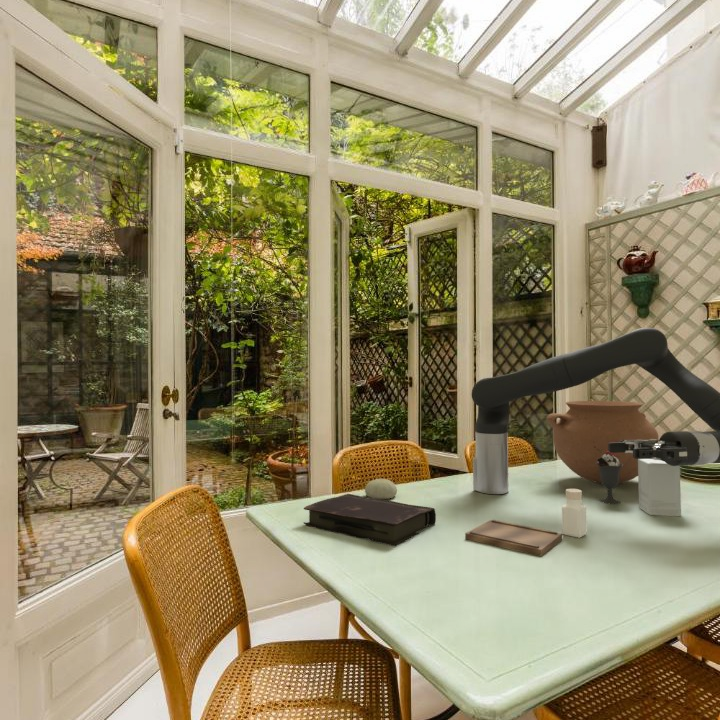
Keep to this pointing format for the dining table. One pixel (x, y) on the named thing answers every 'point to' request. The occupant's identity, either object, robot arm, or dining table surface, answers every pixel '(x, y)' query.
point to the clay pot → (599, 435)
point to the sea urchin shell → (381, 489)
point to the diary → (370, 518)
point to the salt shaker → (574, 514)
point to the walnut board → (515, 537)
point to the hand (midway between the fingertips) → (621, 450)
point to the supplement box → (659, 487)
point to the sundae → (609, 474)
